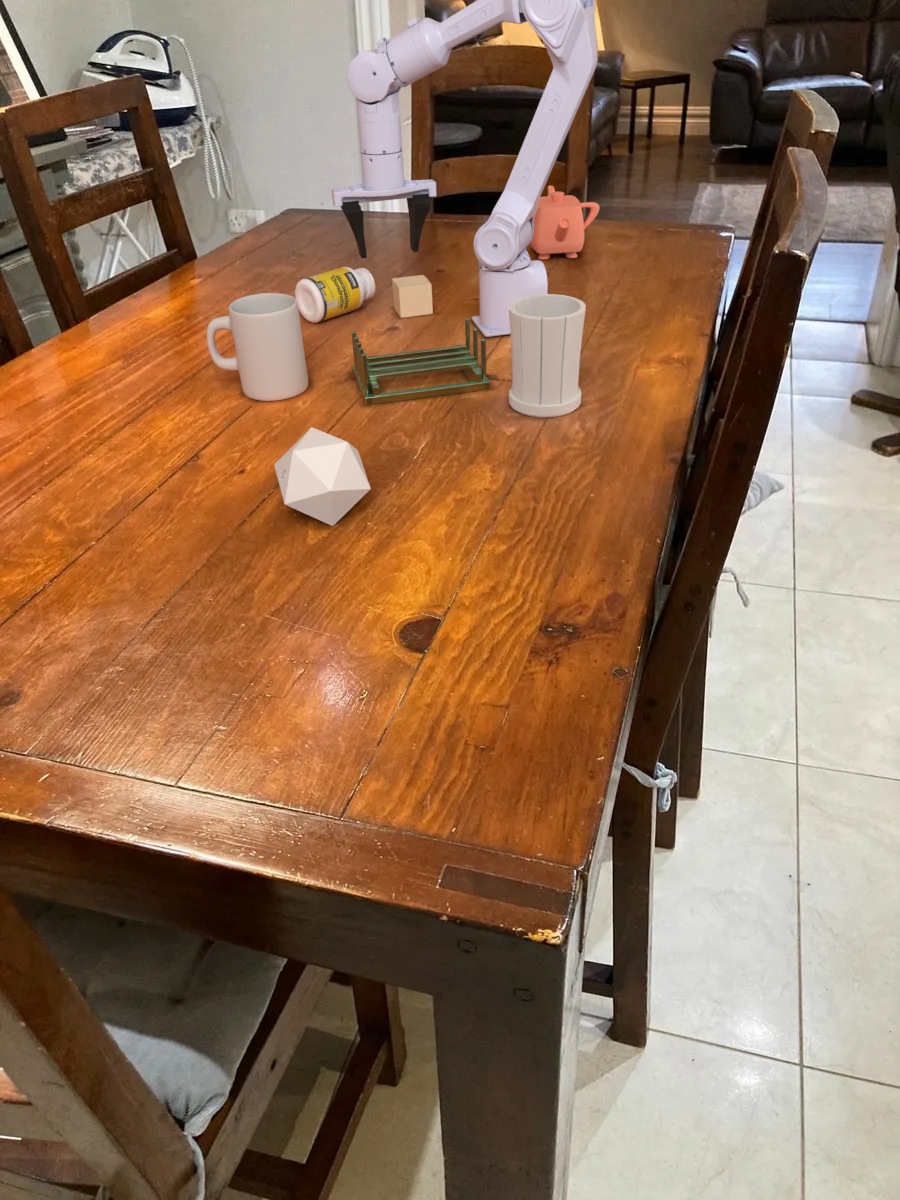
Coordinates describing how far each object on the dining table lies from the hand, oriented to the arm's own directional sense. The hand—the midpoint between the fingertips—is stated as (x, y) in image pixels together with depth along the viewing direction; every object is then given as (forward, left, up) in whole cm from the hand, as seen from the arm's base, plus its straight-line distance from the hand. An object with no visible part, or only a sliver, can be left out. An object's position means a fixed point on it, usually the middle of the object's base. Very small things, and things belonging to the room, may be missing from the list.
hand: (389, 253), depth 135 cm
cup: (-12, +36, -10) cm, 39 cm away
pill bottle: (+13, -2, -6) cm, 14 cm away
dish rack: (+1, +25, -10) cm, 27 cm away
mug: (+21, +21, -10) cm, 31 cm away
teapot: (-34, -24, -10) cm, 43 cm away
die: (+17, +55, -10) cm, 58 cm away
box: (-3, -2, -10) cm, 10 cm away
